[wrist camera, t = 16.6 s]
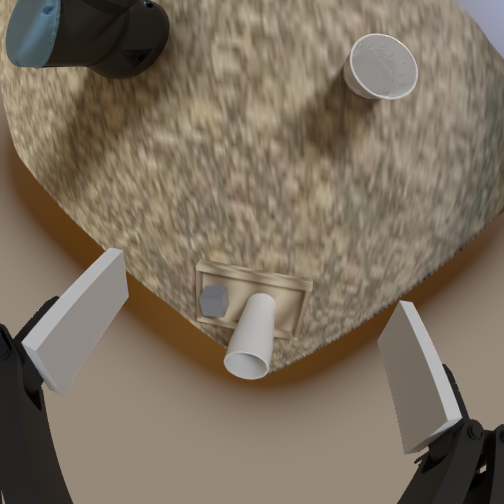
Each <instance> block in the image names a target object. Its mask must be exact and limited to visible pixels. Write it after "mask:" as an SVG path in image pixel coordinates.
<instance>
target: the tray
mask: <svg viewBox="0 0 504 504" xmlns="http://www.w3.org/2000/svg"><path fill="white" fill-rule="evenodd" d="M206 285H211V286H227V291H228V298H229V306H228V309H227V311H226V314H225V316H224V317H212V316H203V314H202V309H201V305H200V301H199V297H200V295H201V294H202V292H203V290H204V288H205V286H206ZM312 288H313V280H312V279H306V278H301V277H295V276H289V275H283V274H278V273H272V272H267V271H261V270H256V269H250V268H245V267H239V266H234V265H228V264H223V263H218V262H212V261H207V260H202V259H200V260H199V262H198V263H197V265H196V305H197V321H200V322H205V323H209V324H213V325H218V326H222V327H227V328H232V329H235V328H236V326H237V324H238V322H239V320H240V317H241V315H242V313H243V311H244V309H245V306H246V303H247V301H248V299H249V297H250V296H252V295H253V294H256V293H265V294H268V295H270V296H271V297H272V298H273V299H274V300H275V303H276V311H275V323H274V337H278V338H284V339H290V340H296V341H297V339H298V336H299V333H300V330H301V326H302V323H303V320H304V316H305V313H306V309H307V306H308V302H309V299H310V295H311V292H312Z"/></svg>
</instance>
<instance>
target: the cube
mask: <svg viewBox="0 0 504 504" xmlns="http://www.w3.org/2000/svg"><path fill="white" fill-rule="evenodd" d="M199 301H200V305H201V309H202V314H203V316H212V317H224V316H225V314H226V311H227V309H228V306H229V298H228V291H227V286H211V285H206V286H205V288H204V290H203V292H202V294H201V295H200V297H199Z"/></svg>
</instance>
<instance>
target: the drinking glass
mask: <svg viewBox="0 0 504 504" xmlns="http://www.w3.org/2000/svg"><path fill="white" fill-rule="evenodd" d="M275 311H276V303H275V300H274V299H273V298H272V297H271V296H270V295H268V294H265V293H256V294H253V295H252V296H250V297H249V299H248V301H247V303H246V306H245V309H244V311H243V313H242V315H241V317H240V320H239V322H238V324H237V326H236V328H235V330H234V332H233V334H232V337H231V339H230V342H229V344H228V347H227V350H226V354H225V358H224V365H225V367H226V369H227V370H228V371H229V372H231V373H232V374H234V375H236V376H238V377H240V378H244V379H258V378H261V377H263V376H265V375H266V374H267V373H268V371H269V367H270V363H271V358H272V352H273V341H274V323H275Z"/></svg>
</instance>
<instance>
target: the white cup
mask: <svg viewBox="0 0 504 504" xmlns="http://www.w3.org/2000/svg"><path fill="white" fill-rule="evenodd" d="M417 77H418V70H417V65H416V62H415V59H414V57H413V56H412V54H411V52H410V51H409V50H408V49H407V48H406V47H405V46H404V45H403V44H402V43H401V42H400V41H398V40H396V39H395V38H393V37H390V36H387V35H384V34H369V35H366V36H364V37H362V38H360V39H359V40H358V41H357V42H356V43H355V44H354V45H353V47H352V49H351V51H350V53H349V55H348V57H347V59H346V62H345V65H344V68H343V78H344V80H345V82H346V84H347V86H348V88H349V89H351V90H352V91H353V92H354V93H355V94H356V95H359V96H362V97H365V98H370V99H386V100H395V99H400V98H403V97H405V96H406V95H408V94H409V93H410V92H411V91H412V90H413V89H414V87H415V85H416V82H417Z"/></svg>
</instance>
